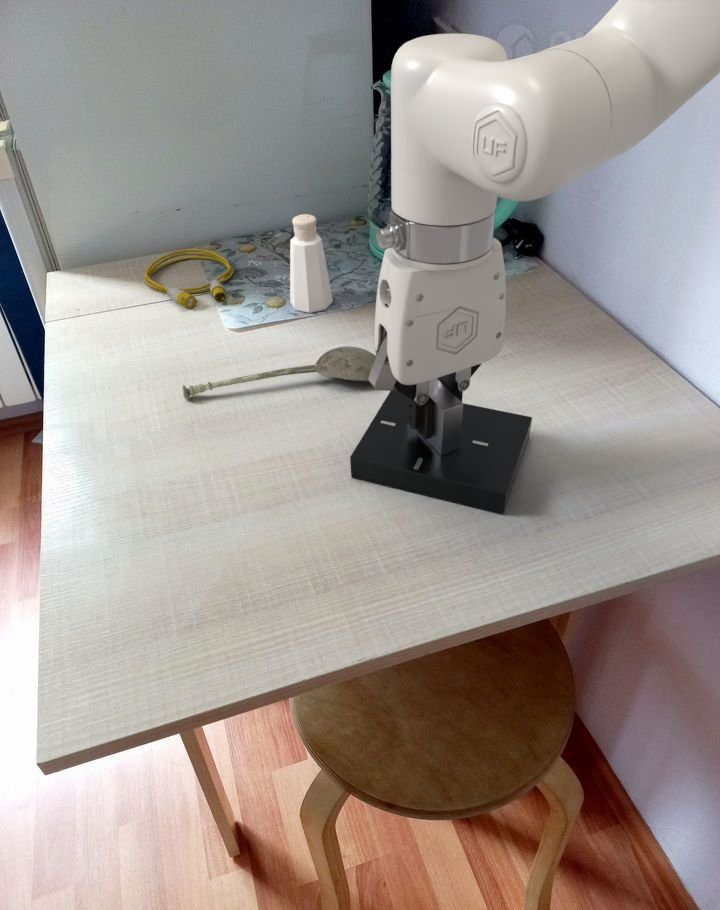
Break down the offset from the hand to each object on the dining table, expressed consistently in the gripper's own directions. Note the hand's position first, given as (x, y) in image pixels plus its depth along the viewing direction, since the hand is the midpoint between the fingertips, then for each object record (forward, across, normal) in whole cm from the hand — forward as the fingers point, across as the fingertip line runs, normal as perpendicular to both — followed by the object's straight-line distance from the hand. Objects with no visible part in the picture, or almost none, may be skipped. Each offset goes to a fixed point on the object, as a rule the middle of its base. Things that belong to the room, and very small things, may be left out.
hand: (433, 424), depth 64 cm
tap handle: (+1, 0, 0) cm, 1 cm away
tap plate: (+4, +1, -1) cm, 4 cm away
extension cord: (+4, -10, +46) cm, 47 cm away
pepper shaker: (+4, +2, +32) cm, 33 cm away
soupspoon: (+4, -8, +17) cm, 19 cm away
